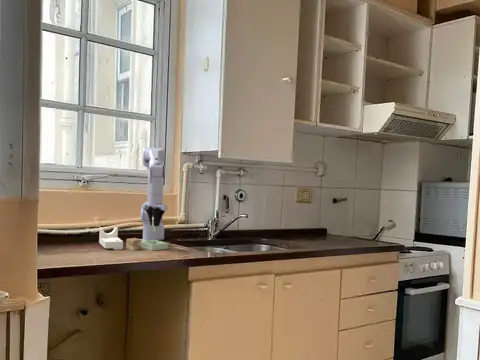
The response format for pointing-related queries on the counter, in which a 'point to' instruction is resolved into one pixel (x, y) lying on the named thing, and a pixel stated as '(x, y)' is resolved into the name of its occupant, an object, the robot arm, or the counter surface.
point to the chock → (133, 244)
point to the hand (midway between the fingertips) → (154, 225)
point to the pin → (154, 228)
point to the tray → (154, 245)
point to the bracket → (110, 239)
